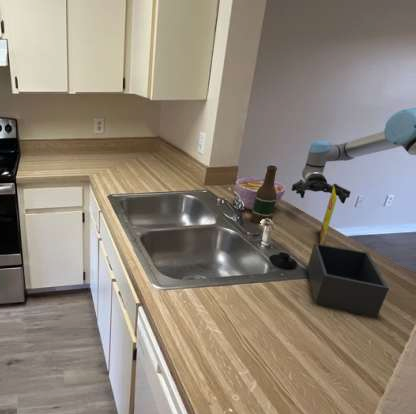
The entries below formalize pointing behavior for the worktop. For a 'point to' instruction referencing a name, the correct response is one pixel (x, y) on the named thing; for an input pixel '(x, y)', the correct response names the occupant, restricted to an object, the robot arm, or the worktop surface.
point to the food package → (327, 216)
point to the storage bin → (346, 280)
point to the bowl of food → (255, 190)
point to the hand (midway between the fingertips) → (323, 197)
